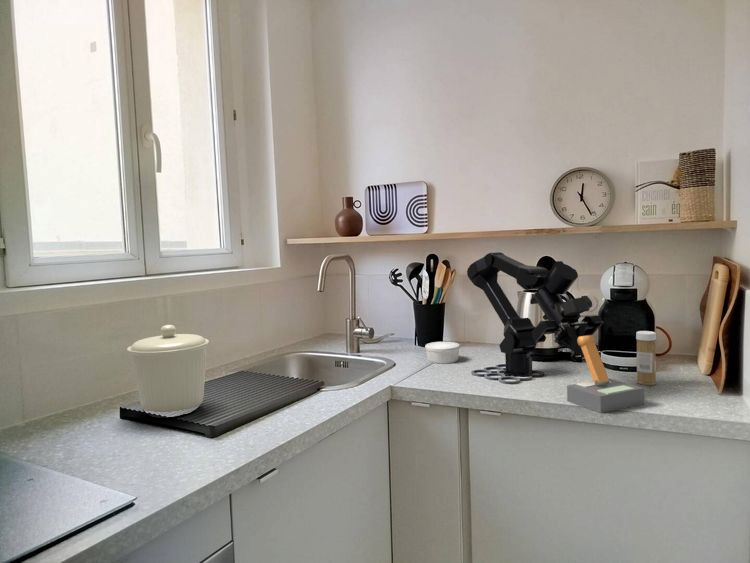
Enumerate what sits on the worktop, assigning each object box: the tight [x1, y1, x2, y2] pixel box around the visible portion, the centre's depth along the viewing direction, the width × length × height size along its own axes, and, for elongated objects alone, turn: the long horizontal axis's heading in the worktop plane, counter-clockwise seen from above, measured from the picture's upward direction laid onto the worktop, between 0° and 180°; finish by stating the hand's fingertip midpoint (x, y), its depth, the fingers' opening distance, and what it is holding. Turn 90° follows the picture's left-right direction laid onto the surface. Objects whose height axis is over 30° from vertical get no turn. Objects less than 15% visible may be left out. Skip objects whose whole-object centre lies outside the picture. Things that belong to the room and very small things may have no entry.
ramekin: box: [424, 341, 461, 365], centre depth 168 cm, size 11×11×5 cm
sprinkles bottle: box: [635, 330, 657, 386], centre depth 134 cm, size 5×5×13 cm
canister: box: [126, 324, 210, 412], centre depth 124 cm, size 18×18×21 cm
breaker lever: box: [577, 335, 609, 386], centre depth 122 cm, size 2×3×12 cm
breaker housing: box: [566, 377, 645, 414], centre depth 120 cm, size 10×13×4 cm
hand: (586, 356), depth 124 cm, fingers closed
